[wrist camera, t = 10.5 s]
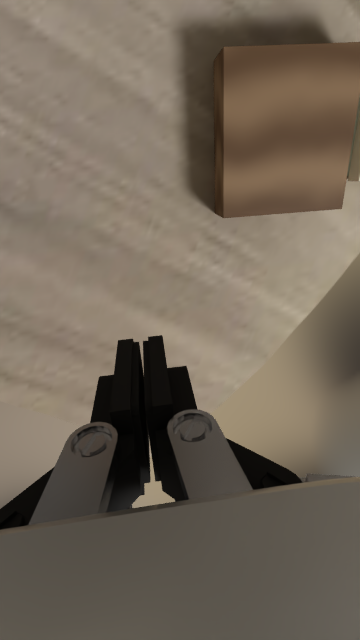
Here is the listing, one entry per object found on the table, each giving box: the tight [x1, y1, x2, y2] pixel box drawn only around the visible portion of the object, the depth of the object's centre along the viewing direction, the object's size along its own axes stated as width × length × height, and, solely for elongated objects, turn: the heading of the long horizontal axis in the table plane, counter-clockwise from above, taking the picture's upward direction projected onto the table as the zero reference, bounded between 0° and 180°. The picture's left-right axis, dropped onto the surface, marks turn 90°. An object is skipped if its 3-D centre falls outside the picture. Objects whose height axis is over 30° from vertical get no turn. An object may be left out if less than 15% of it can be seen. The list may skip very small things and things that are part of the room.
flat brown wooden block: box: [214, 42, 360, 218], centre depth 32 cm, size 14×13×4 cm
